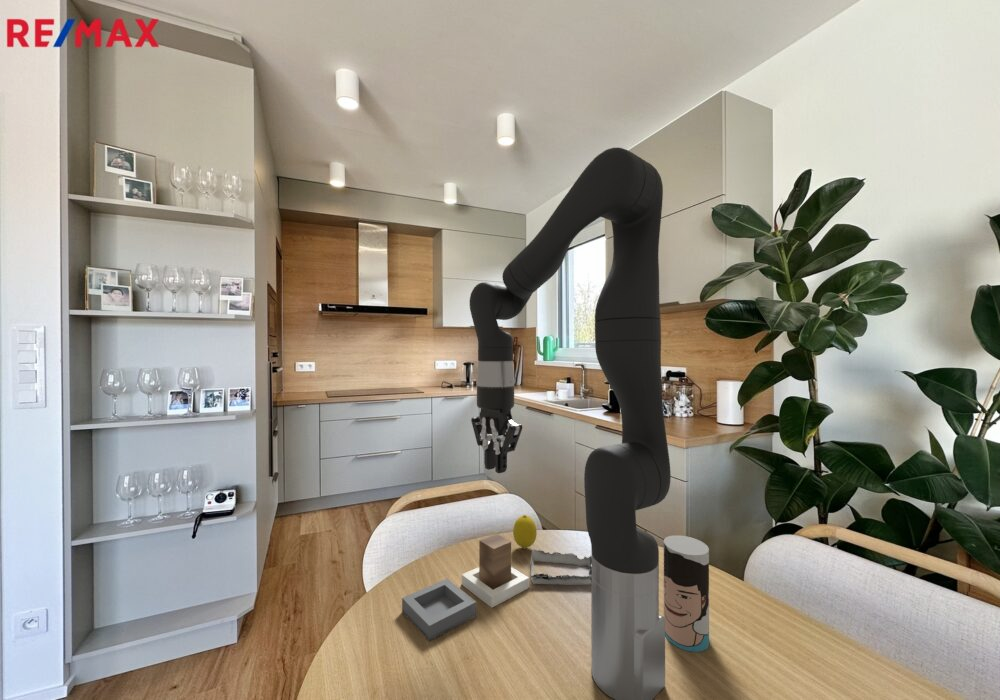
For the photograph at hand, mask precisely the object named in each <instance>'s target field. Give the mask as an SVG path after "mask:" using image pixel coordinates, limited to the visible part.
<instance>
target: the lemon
mask: <svg viewBox="0 0 1000 700" xmlns="http://www.w3.org/2000/svg"><path fill="white" fill-rule="evenodd" d="M512 528H513V530H512V531H513V534H512V535H513V539H514V541H515V543H516V545H518V546H519V547H521V548H523V550H527V548H530V547H531V546H533V545H534V543H535V541H536V539H537V535H538V534H537V525H536V522H535V520H533V518H532V517H530V516H528V515H526V514H523V515H521V516H519V517H518V518H517V519H516V520H515V522H514V525H513V527H512Z"/></svg>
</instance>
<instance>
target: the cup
mask: <svg viewBox="0 0 1000 700" xmlns="http://www.w3.org/2000/svg"><path fill="white" fill-rule="evenodd" d="M663 617H664V618H665V639H666V640H668V642H670V643H671V644H672V645H673V646H675V647H678V648H679V649H682V650H684V651H687V652H692V653H693V652H694V653H695V652H696V653H698V652H703V651H705V650H707V649H708V648H709V646H710V548H709V546H708V545H707V544H706V543H705V542H703V541H701V540H699V539H697V538H694V537H690V536H687V535H679V534H678V535H669V536H666V537H665V538H664V540H663Z"/></svg>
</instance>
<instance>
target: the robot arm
mask: <svg viewBox="0 0 1000 700" xmlns="http://www.w3.org/2000/svg"><path fill="white" fill-rule="evenodd" d="M663 187H664V186H663V181H662V177H661V175H660V173H659V172H658V170H657V169H656V168H655V167H654V166H653V165H652V164H651V163H650V162H648V161H646V160H644V159H643V158H642V157H640V156H638V155H637V154H635V153H633V152H632V151H630V150H628V149H625V148H623V147H611V148H608V149H605V150H603V151H602V152H601V153H599V154H597V155H596V156H595V157H594V158H593V159H592V160H591V161H590V163H588V165H587V166H586V167H585V168H584V169H583V171H582V172H581V173H580V174H579V176H578V178H577V179H576V180H575V182H574V183H573V185H572V186H571V187H570V189H569V190H568V192H567V193H566V194H565V195H564V197H563V198H562V200H561V201H560V202H559V204H558V205H557V207H556V208H555V210H554V211H553V213H552V214H551V215H550V217H549V218H548V220H546V222H545V224H544V225H543V227H542V228H541V229H540V231H539V232H538V233H537V234H536V235H535V236H534V238H533V239H532V240H531V241H530V242H529V243H528V244H527V246H525V247H524V248H523V249H522V250H521V251H520V252H519V253H518V254H517V255H516V256H515V257H514V258H513V259H512V260H511V261H510V262H509V263H508V265H507V266H506V267H505V268H504V270H503V272H502V277H501V278H502V282H503V284H500V283H499V284H497V283H493V282H492V283H491V282H485V281H484V282H479V283H477V284H476V285H475V286H474V287H473V289H472V290H471V293H470V297H469V311H470V314H471V319H472V323H473V326H474V331H475V335H476V338H477V368H476V406H477V408H479V409H480V411H479V415H478V416H475V417H471V419H470V421H471V424H472V429H473V432H474V433H473V434H474V438H475V441H476V444H477V446H479V447H480V446H481V448H482V450H483V451H484V457H483V459H484V468H485V469H486V470H488V471H489V470H493V469H494V470H495V472H496V473H497V474H502V473H505V472H506V471H507V469H508V454H509V453H511V452H515V450H516V447H517V444H518V442H519V439H520V436H521V433H522V430H523V425H522V424H521V423H516V422H514V420H513V415H512V409H513V408H514V407H515V368H514V339H513V336H512V334H511V333H509V332H507V331H505V330H502V329H501V328H500V326H499V323H498V321H497V320H499V321H500V320H502V321H507V320H511V319H513V318H515V317H516V316H518V315H520V313H521V312H522V311H523V309H524V308H525V306H526V305H527V303H528V302H529V300H530V298H531V296H532V295H533V293H534V292H536V291H537V290H538V289H539V288H540V287H542V286H544V284H545V283H546V282H548V281H549V280H550V279H551V278H552V277H553V276H555V274H556V272H557V273H558V270H559V269H560V267H561V266H562V264H563V262H564V260H565V257H566V255H567V252H568V250H569V248H570V245H571V244H572V242H573V240H574V239H575V238H576V237H577V236H578V234H579V233H580V232H582V231H583V230H584V229H585V228H587V227H588V226H589V225H590V224H592V223H593V222H594V221H595V222H596V220H598V219H600V218H604V219H606V220H609V221H610V223H611V227H612V238H613V239H612V240H613V243H612V245H613V247H612V248H613V255H612V263H611V266H610V268H609V269H610V270H609V272H608V276H607V278H606V279H605V282H604V284H603V287H602V288H601V291H600V294H599V295H598V296H599V297H598V299H597V301H596V306H595V311H594V342H595V343H594V344H595V347H594V348H595V353H596V354H595V355H596V358H597V361H598V364H599V366H600V369H601V370H602V373H603V374H604V377H605V378H606V380H607V382H608V384H609V386H610V387H611V389H612V391H613V393H614V395H615V397H616V400H617V402H618V407H619V410H620V416H621V417H620V418H621V429H622V430H621V432H622V433H621V435H622V436H621V437H622V438H621V443H618V444H617V443H616V444H613V445H606V446H604V445H603V446H601V447H597V448H596V449H595V448H594V449H593V450H592V451H591V452H590V453H589V454H588V457H587V460H586V462H585V466H584V475H583V476H584V479H583V480H584V482H583V483H584V502H585V503H584V504H585V519H586V521H585V522H586V530H587V533H588V537H589V540H590V544H591V545H590V546H591V547H590V548H591V556H592V564H591V567H592V577H591V578H592V583H591V598H590V599H591V605H590V607H591V610H590V611H591V619H590V620H591V621H590V622H591V625H590V626H591V632H590V633H591V634H590V635H591V637H590V639H591V641H590V644H591V645H590V646H591V647H590V648H591V652H590V654H591V657H590V658H591V665H590V666H591V675H592V678H593V682H595V684H596V685H597V687H598V688H599V689H600V690H601V691H602V692H603V693H605V694H606V695H607V696H608V697H610V698H612V699H613V700H654V699H655V697H656V696H658V695H659V693H660V692H661V690H662V689H663V688H664V687H665V686H666V636H665V618H664V615H663V616H662V615H661V614H659V611H660V610H659V609H660V608H659V606H660V605H659V604H660V603H659V601H660V598H659V597H660V596H659V595H660V592H659V591H660V590H659V587H660V583H659V582H660V579H659V578H660V569H659V567H660V566H659V565H660V564H659V562H660V555H659V554H660V553H659V552H660V551H659V550H660V549H659V544H658V541H657V539H656V538H655V537H654V536H653V535H652V534H651V533H649V532H647V531H646V530H644V529H641V528H639V527H638V526H637V520H636V519H637V517H636V515H637V514H636V511H640V510H642V509H647V508H649V507H652V506H656V505H658V504H659V503H662V501H664V499H666V496H667V495H668V493H669V490H670V487H671V480H672V479H671V475H672V474H671V473H672V472H671V462H670V454H669V447H668V440H667V431H666V425H665V416H664V414H665V413H664V407H663V406H664V402H663V384H662V383H663V382H662V378H663V377H662V361H661V359H662V358H661V356H662V355H661V352H662V327H661V326H662V325H661V324H662V321H661V305H660V303H661V302H660V264H659V261H660V260H659V247H660V246H659V245H660V234H661V223H662V212H663V200H664V198H663V197H664V188H663ZM501 443H502V444H501Z"/></svg>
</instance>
